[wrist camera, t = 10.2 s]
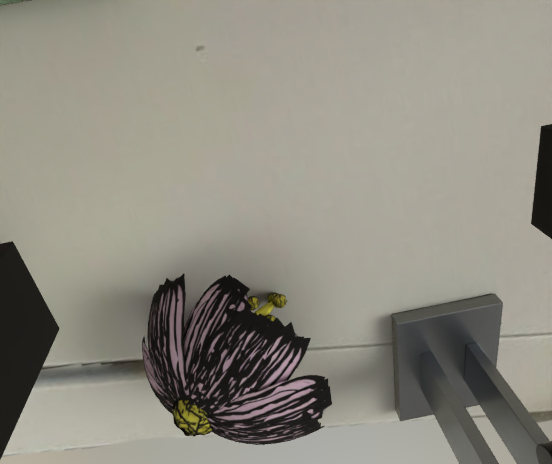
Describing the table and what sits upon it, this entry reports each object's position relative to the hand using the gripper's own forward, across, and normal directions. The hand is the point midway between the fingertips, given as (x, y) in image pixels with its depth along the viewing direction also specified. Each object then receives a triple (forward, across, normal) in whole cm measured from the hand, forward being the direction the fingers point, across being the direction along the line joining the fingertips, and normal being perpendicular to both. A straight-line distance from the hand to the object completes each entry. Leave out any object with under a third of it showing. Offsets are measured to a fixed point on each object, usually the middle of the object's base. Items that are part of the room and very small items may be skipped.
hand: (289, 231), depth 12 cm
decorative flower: (+20, -5, -17) cm, 27 cm away
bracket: (+19, +13, -27) cm, 35 cm away
